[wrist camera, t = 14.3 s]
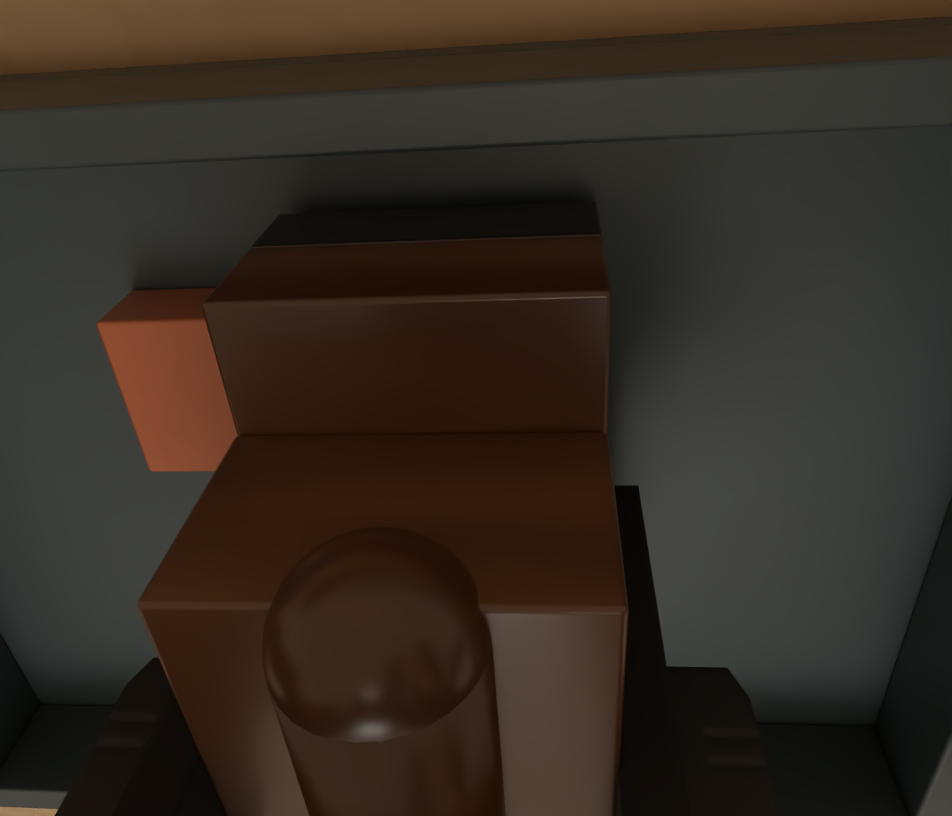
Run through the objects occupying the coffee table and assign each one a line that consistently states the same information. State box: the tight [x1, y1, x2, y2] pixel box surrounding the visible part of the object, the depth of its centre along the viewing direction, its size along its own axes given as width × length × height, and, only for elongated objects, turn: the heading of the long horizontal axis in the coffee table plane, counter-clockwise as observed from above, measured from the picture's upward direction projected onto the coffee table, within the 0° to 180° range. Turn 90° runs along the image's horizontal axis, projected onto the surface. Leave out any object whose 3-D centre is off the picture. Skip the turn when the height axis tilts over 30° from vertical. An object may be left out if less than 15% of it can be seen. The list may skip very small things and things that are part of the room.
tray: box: [0, 17, 952, 816], centre depth 16 cm, size 24×17×3 cm
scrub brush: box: [138, 202, 629, 816], centre depth 12 cm, size 12×5×8 cm, turn 4°
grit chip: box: [97, 288, 238, 472], centre depth 14 cm, size 3×3×1 cm
